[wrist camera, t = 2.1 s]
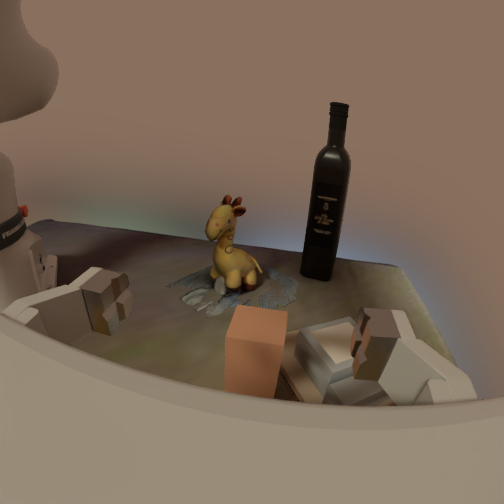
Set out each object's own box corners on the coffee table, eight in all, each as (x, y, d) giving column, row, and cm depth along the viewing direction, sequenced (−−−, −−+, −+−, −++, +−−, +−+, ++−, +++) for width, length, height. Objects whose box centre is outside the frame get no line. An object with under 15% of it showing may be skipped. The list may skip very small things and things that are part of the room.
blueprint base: (263, 343, 36) (267, 310, 34) (336, 325, 40) (344, 295, 38) (323, 438, 23) (338, 409, 21) (403, 399, 27) (421, 368, 25)
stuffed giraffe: (164, 287, 46) (164, 189, 39) (242, 259, 59) (251, 178, 52) (234, 342, 37) (248, 224, 30) (310, 294, 49) (331, 203, 43)
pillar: (224, 409, 26) (225, 336, 22) (233, 377, 30) (237, 304, 26) (269, 416, 26) (284, 345, 22) (274, 384, 30) (288, 311, 26)
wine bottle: (329, 283, 51) (356, 104, 38) (298, 276, 52) (319, 99, 40) (333, 269, 55) (357, 107, 43) (304, 263, 57) (324, 103, 44)
